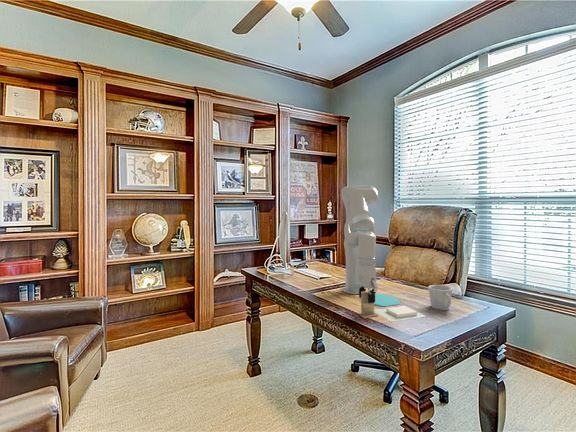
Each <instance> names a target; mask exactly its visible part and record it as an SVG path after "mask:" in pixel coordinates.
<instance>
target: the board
mask: <svg viewBox="0 0 576 432" xmlns="http://www.w3.org/2000/svg"><path fill="white" fill-rule="evenodd" d="M386 308H387V307H383V308H377V309H374V313H376V314H377V315H378V316H380V317H383V318H384V319H386V320H388V321H389V322H398V321H399V322H400V321H404V320H411V319H417V318H418V319H419V318H425V317H427V316H426V315H424V314H422V313H420V312H419V311H417V310H415V309H413V310H414V311H416V312H417V315H415V316H409V317H402V318H397V317H396V316H394V315H392V314H390V313H388V312H387V311H386Z"/></svg>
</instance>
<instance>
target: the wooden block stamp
mask: <svg viewBox="0 0 576 432" xmlns="http://www.w3.org/2000/svg"><path fill="white" fill-rule="evenodd" d="M368 294H369V291H368V290H366V291H363V292H361V298H360V304H361V306H360V308H361V309H360V310H361V311H358V312H357V315H358V316H360V317H361V318H363V319H368V318H375V317H379V314H377V313H376V312H374V310H375V305H374V303H368Z"/></svg>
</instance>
